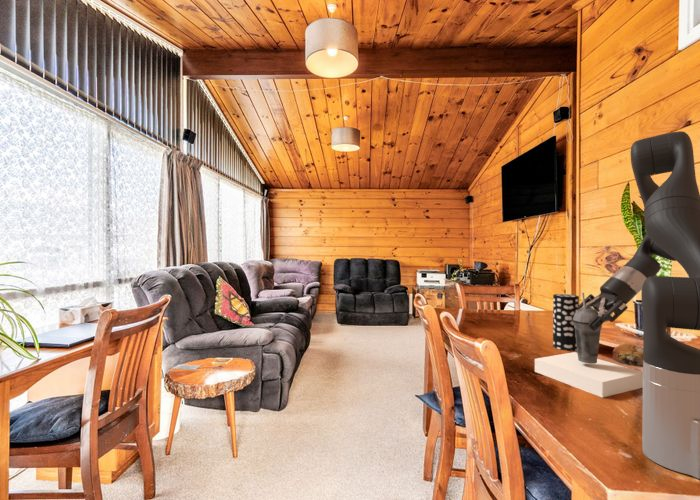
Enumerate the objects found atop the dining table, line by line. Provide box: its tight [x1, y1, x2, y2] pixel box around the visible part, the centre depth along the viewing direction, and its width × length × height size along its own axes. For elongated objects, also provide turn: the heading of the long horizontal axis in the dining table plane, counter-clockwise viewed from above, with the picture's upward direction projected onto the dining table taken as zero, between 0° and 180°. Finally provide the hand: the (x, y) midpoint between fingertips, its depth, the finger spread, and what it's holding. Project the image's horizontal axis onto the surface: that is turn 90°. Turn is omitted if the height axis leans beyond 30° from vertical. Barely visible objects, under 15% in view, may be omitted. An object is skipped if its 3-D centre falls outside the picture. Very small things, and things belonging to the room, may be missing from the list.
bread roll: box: [612, 342, 643, 367], centre depth 117 cm, size 10×10×8 cm
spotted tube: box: [552, 293, 580, 352], centre depth 133 cm, size 8×8×20 cm
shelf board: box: [534, 351, 643, 399], centre depth 101 cm, size 20×18×4 cm
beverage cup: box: [573, 292, 603, 364], centre depth 101 cm, size 7×7×20 cm
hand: (582, 325), depth 101 cm, fingers open, 7 cm apart
